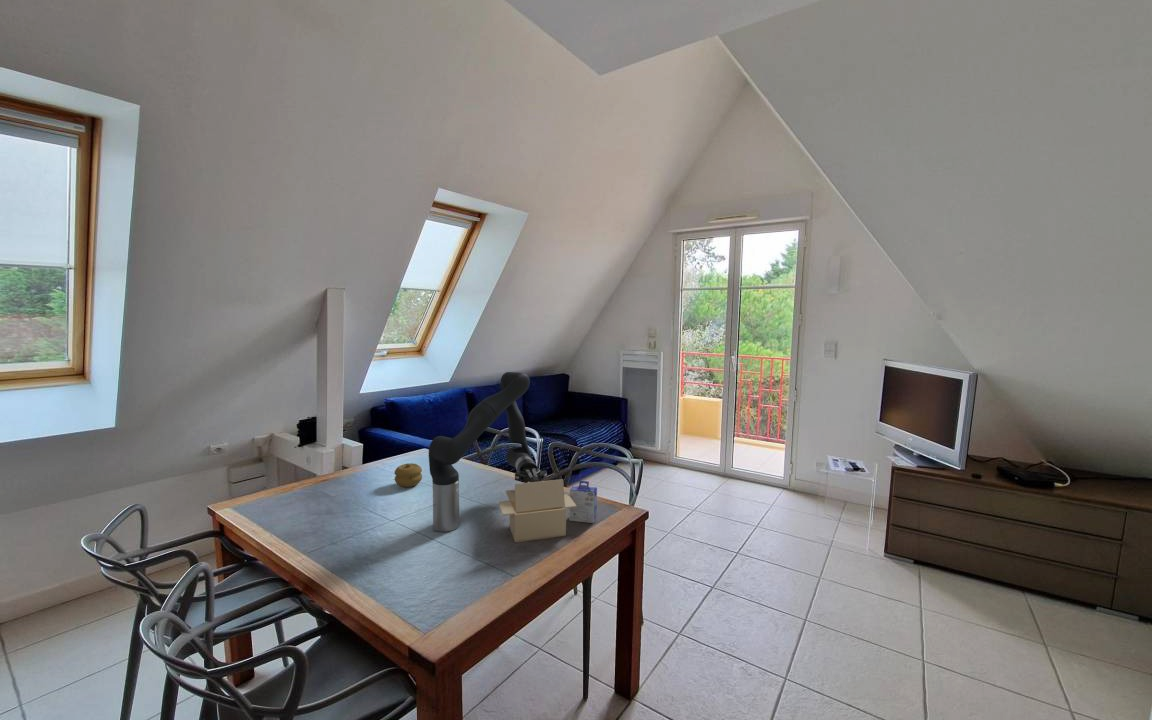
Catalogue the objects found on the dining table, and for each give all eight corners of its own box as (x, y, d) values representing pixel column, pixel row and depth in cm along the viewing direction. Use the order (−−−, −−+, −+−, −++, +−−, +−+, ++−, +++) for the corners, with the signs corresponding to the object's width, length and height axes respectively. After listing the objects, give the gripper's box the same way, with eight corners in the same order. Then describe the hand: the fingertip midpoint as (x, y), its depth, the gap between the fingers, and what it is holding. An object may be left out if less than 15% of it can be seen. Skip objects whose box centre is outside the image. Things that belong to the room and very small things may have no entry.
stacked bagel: (416, 490, 206) (416, 468, 205) (390, 489, 206) (389, 467, 205) (426, 480, 217) (425, 459, 216) (400, 480, 218) (400, 459, 217)
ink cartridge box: (597, 517, 181) (597, 481, 180) (594, 523, 176) (595, 486, 174) (572, 514, 183) (572, 478, 182) (568, 521, 178) (569, 484, 176)
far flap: (515, 511, 160) (516, 512, 160) (514, 483, 162) (514, 484, 161) (564, 506, 165) (564, 506, 165) (563, 479, 167) (563, 479, 166)
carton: (503, 544, 160) (503, 515, 158) (495, 518, 180) (495, 491, 178) (576, 534, 167) (577, 506, 166) (561, 510, 187) (561, 484, 186)
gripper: (509, 460, 183) (517, 475, 167) (542, 457, 187) (553, 471, 171) (509, 478, 184) (517, 495, 168) (542, 475, 188) (553, 491, 172)
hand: (536, 483), depth 169 cm, fingers closed
